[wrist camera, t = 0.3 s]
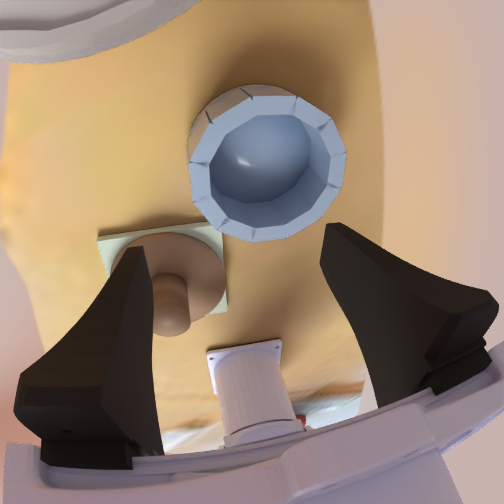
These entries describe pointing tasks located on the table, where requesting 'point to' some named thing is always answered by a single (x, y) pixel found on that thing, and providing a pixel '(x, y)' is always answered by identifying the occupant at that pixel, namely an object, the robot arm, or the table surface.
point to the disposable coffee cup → (78, 26)
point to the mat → (201, 231)
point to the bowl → (263, 163)
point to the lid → (180, 279)
